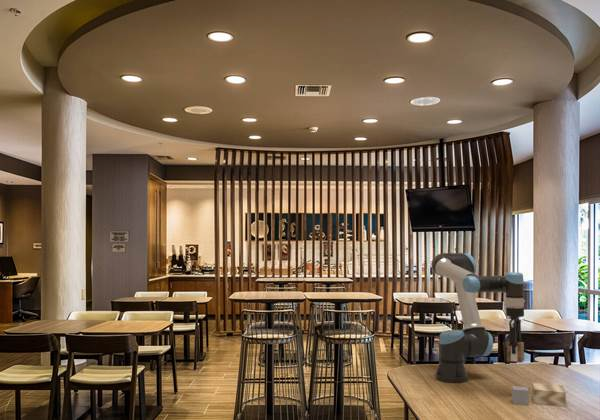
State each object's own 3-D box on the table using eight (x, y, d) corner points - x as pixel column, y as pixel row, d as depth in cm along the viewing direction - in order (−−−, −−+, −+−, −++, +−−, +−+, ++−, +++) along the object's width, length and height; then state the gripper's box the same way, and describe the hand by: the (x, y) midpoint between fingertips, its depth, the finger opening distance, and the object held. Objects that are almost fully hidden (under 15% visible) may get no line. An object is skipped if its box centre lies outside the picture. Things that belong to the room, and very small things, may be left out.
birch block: (534, 403, 239) (534, 389, 239) (532, 396, 250) (532, 382, 251) (565, 407, 235) (565, 392, 235) (562, 399, 246) (562, 385, 247)
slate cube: (513, 403, 238) (513, 389, 238) (511, 400, 244) (511, 385, 244) (528, 405, 236) (528, 390, 237) (526, 401, 242) (526, 387, 242)
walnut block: (507, 361, 251) (506, 342, 252) (510, 358, 256) (509, 340, 257) (521, 362, 248) (521, 343, 249) (524, 360, 253) (523, 342, 254)
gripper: (519, 309, 244) (520, 364, 242) (527, 306, 260) (528, 357, 258) (501, 308, 248) (502, 362, 246) (510, 305, 264) (511, 355, 262)
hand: (515, 359), depth 252 cm, fingers closed on walnut block, 6 cm apart
